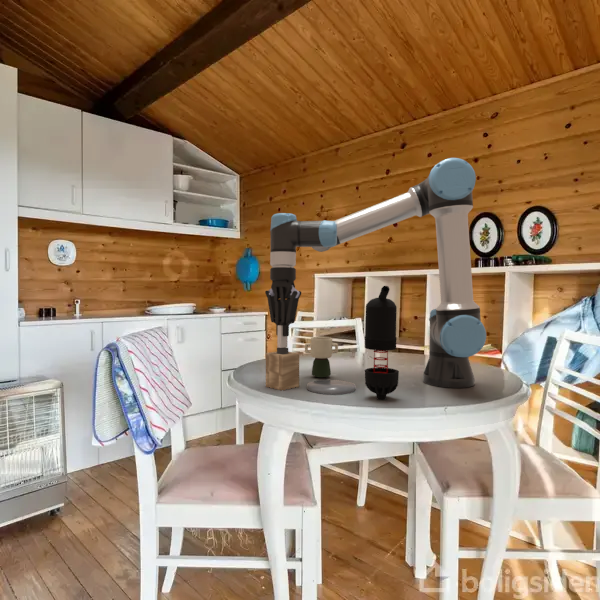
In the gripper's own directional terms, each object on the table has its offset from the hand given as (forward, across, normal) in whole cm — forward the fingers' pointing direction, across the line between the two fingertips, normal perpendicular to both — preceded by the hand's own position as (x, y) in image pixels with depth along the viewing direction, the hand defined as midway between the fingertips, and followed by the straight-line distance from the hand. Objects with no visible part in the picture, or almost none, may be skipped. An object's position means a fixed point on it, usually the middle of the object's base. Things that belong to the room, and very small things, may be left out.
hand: (282, 347), depth 131 cm
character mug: (+12, +1, -19) cm, 23 cm away
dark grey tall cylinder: (+10, 0, 0) cm, 10 cm away
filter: (+12, -28, -9) cm, 32 cm away
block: (+12, 0, 0) cm, 12 cm away
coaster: (+12, -12, -8) cm, 19 cm away
